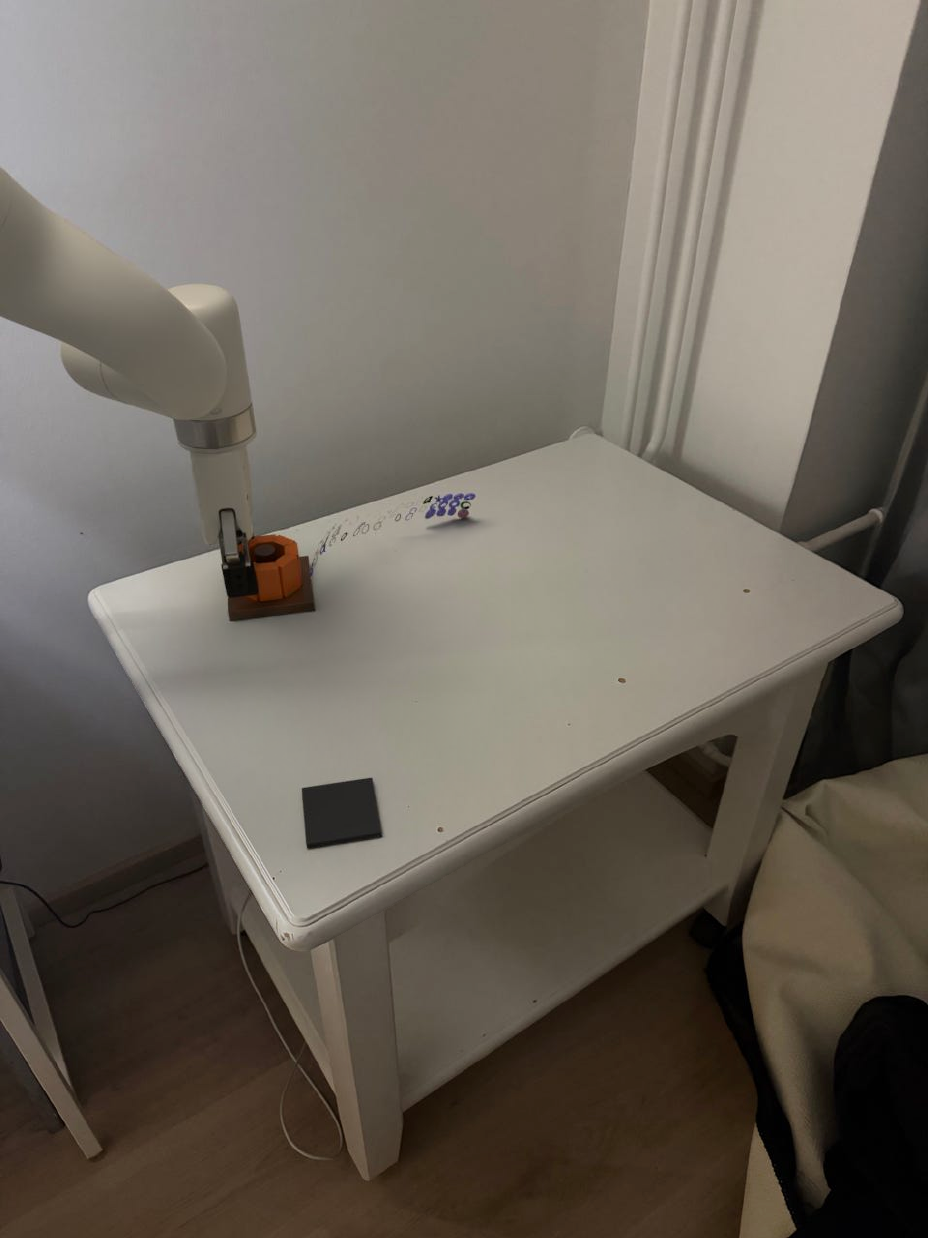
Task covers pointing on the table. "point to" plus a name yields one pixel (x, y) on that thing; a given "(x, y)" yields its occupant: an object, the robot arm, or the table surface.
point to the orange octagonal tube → (276, 568)
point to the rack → (292, 604)
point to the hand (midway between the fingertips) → (242, 574)
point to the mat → (340, 813)
